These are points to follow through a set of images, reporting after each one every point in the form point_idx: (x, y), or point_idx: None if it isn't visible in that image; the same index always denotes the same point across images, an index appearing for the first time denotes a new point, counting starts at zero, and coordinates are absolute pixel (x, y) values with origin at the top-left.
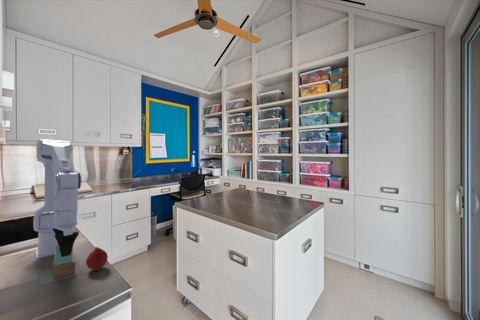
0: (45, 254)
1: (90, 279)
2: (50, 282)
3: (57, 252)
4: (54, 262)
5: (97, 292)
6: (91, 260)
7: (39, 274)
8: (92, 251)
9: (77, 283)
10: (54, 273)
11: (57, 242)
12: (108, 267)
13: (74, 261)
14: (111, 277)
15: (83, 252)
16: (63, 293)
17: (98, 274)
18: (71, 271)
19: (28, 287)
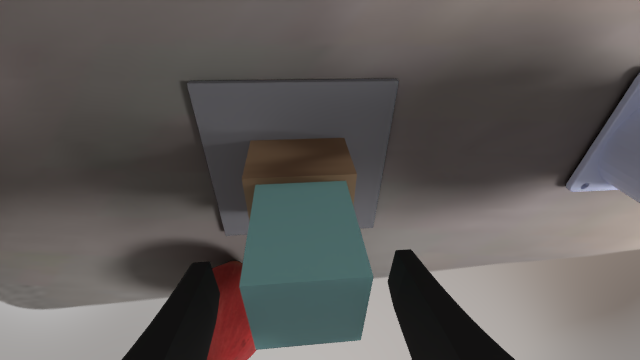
0: (635, 115)
1: (160, 245)
2: (205, 126)
3: (244, 265)
4: (321, 180)
5: (24, 254)
6: None
7: (362, 81)
8: (221, 349)
9: (146, 210)
10: (248, 156)
11: (441, 289)
12: None
13: None
14: (140, 290)
15: (480, 241)
16: (63, 165)
17: None
18: None
19: (230, 24)
